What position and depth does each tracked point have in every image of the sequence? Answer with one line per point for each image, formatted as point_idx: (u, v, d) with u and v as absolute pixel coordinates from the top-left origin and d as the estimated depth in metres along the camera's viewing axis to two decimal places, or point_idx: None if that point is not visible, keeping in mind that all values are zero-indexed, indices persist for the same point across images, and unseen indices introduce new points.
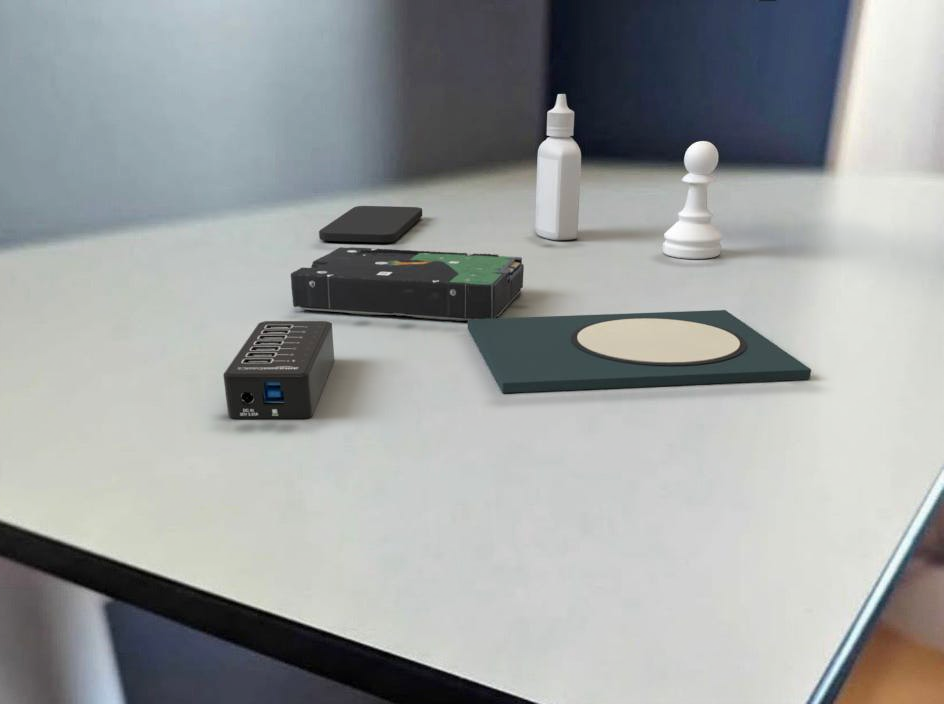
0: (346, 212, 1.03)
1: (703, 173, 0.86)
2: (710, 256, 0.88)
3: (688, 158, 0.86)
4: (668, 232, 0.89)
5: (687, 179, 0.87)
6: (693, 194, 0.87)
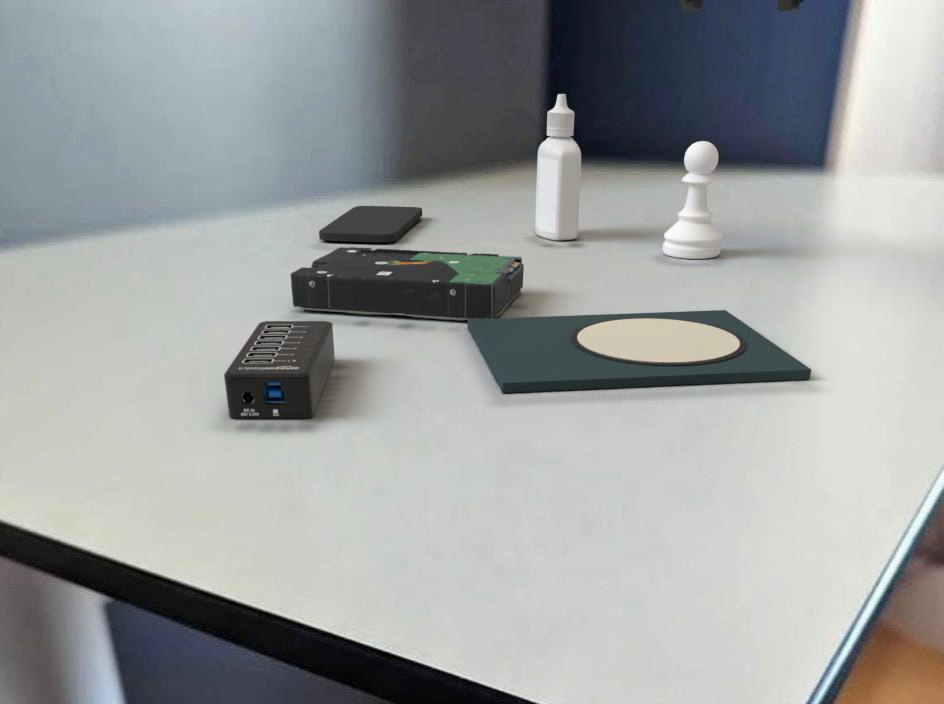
0: (346, 212, 1.03)
1: (703, 173, 0.86)
2: (710, 256, 0.88)
3: (688, 158, 0.86)
4: (668, 232, 0.89)
5: (687, 179, 0.87)
6: (693, 194, 0.87)
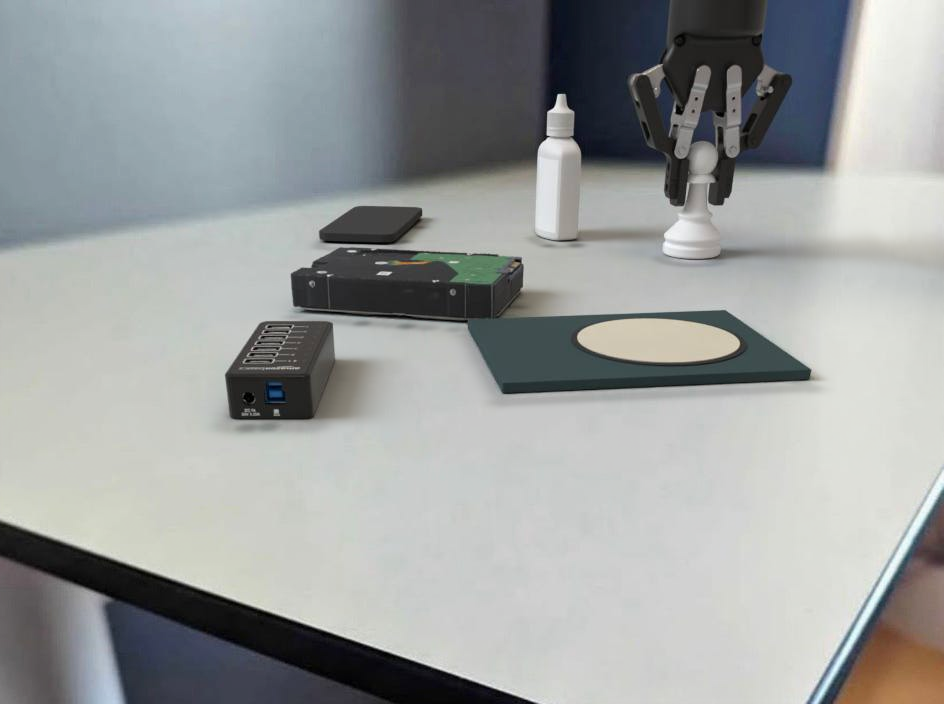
0: (346, 212, 1.03)
1: (703, 173, 0.86)
2: (710, 256, 0.88)
3: (688, 158, 0.86)
4: (668, 232, 0.89)
5: None
6: (692, 194, 0.87)
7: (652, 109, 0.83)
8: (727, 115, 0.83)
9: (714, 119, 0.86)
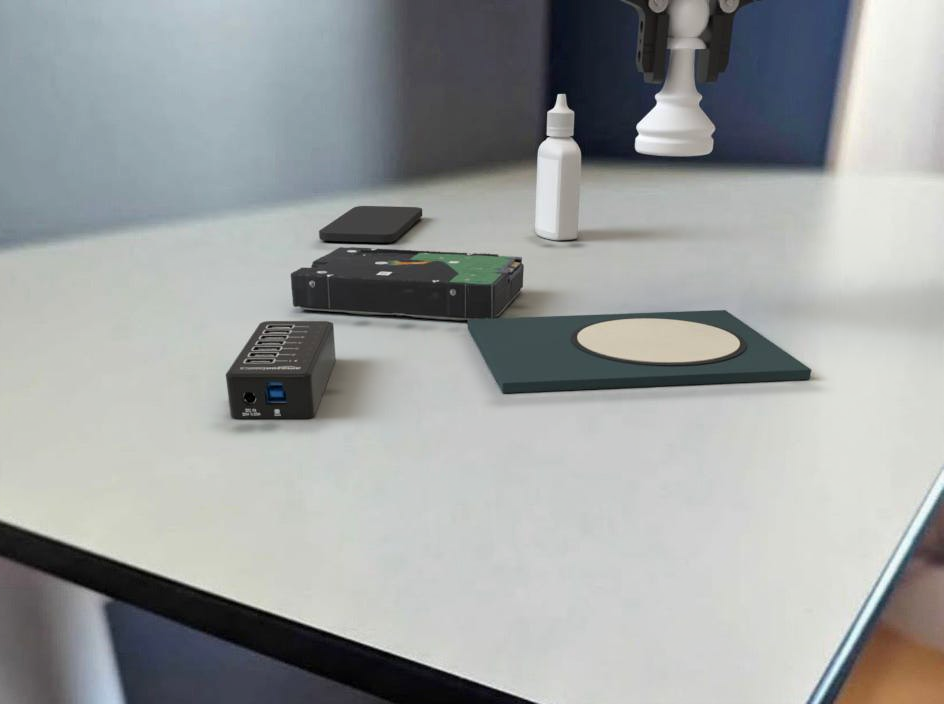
0: (346, 212, 1.03)
1: (688, 35, 0.63)
2: (698, 153, 0.65)
3: (668, 14, 0.62)
4: (642, 121, 0.66)
5: (667, 44, 0.63)
6: (675, 66, 0.64)
7: None
8: None
9: None
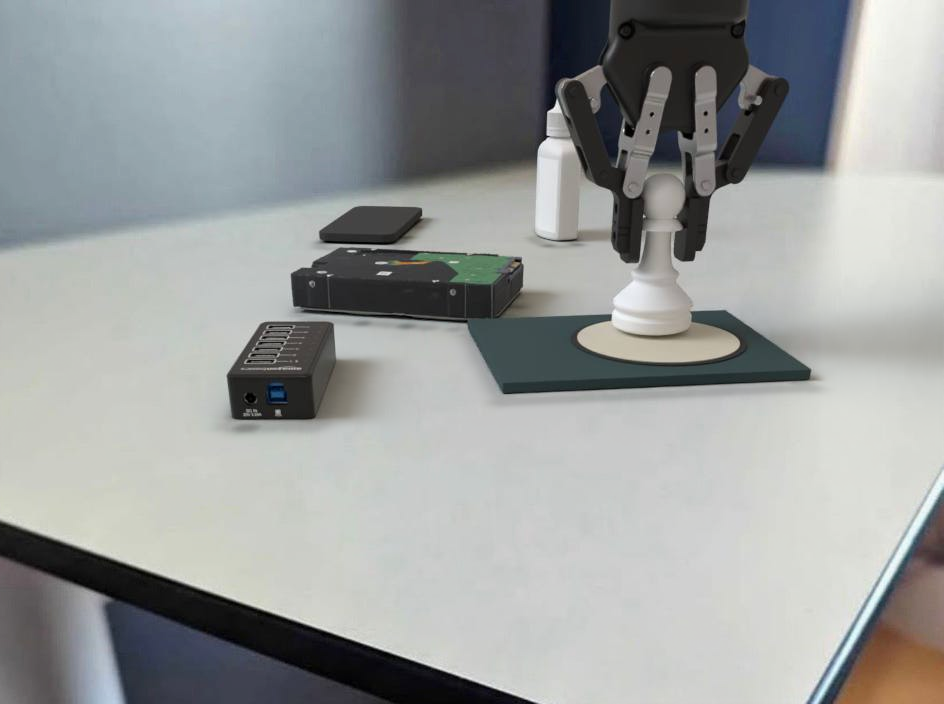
0: (346, 212, 1.04)
1: (664, 218, 0.61)
2: (676, 331, 0.64)
3: (643, 197, 0.61)
4: (618, 297, 0.64)
5: (642, 226, 0.62)
6: (651, 246, 0.62)
7: (589, 129, 0.58)
8: (697, 137, 0.59)
9: (680, 142, 0.61)
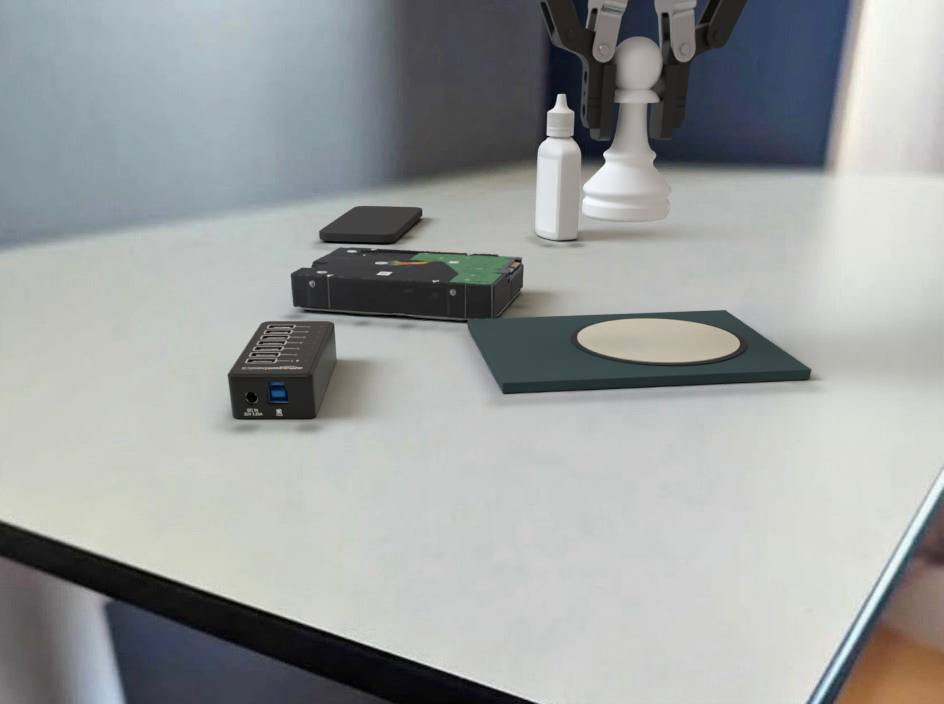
0: (346, 212, 1.03)
1: (639, 87, 0.55)
2: (653, 218, 0.57)
3: (615, 63, 0.55)
4: (589, 182, 0.58)
5: (615, 97, 0.56)
6: (624, 121, 0.56)
7: None
8: None
9: (656, 3, 0.55)
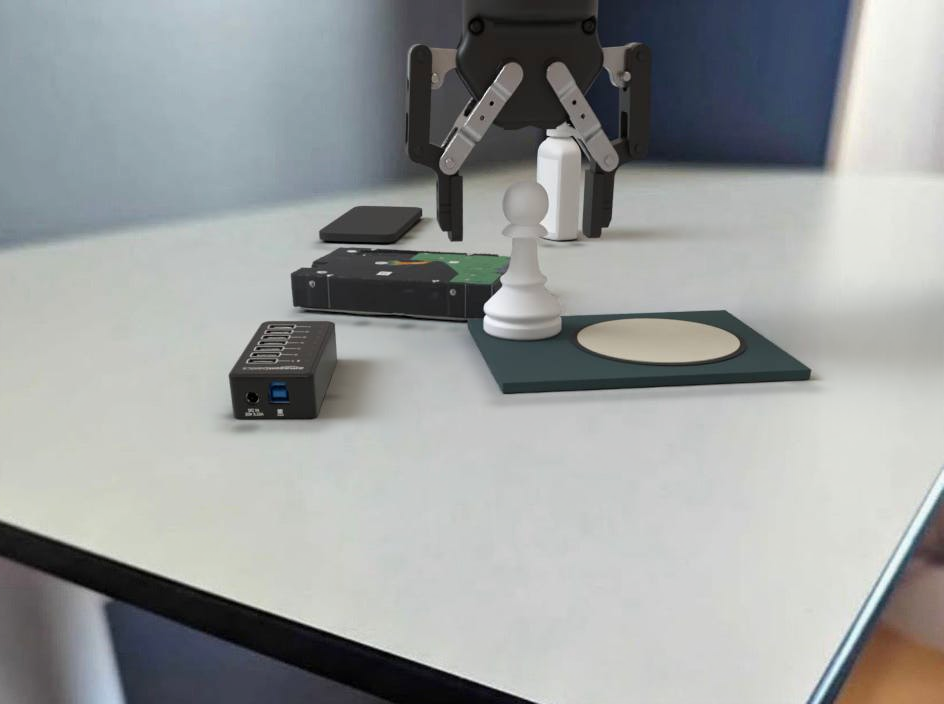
0: (346, 212, 1.03)
1: (527, 224, 0.62)
2: (544, 337, 0.64)
3: (506, 203, 0.61)
4: (488, 303, 0.65)
5: (507, 232, 0.62)
6: (516, 252, 0.63)
7: (421, 100, 0.57)
8: (577, 126, 0.59)
9: (570, 130, 0.62)
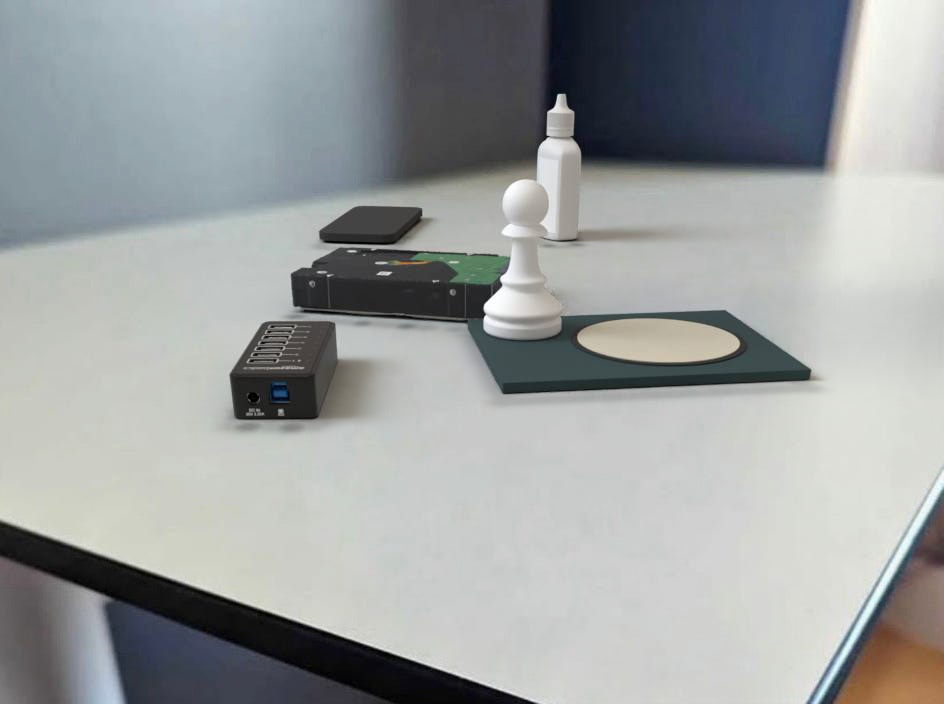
0: (346, 212, 1.03)
1: (528, 224, 0.62)
2: (544, 337, 0.64)
3: (506, 203, 0.61)
4: (488, 303, 0.65)
5: (507, 232, 0.62)
6: (516, 252, 0.63)
7: None
8: None
9: None
